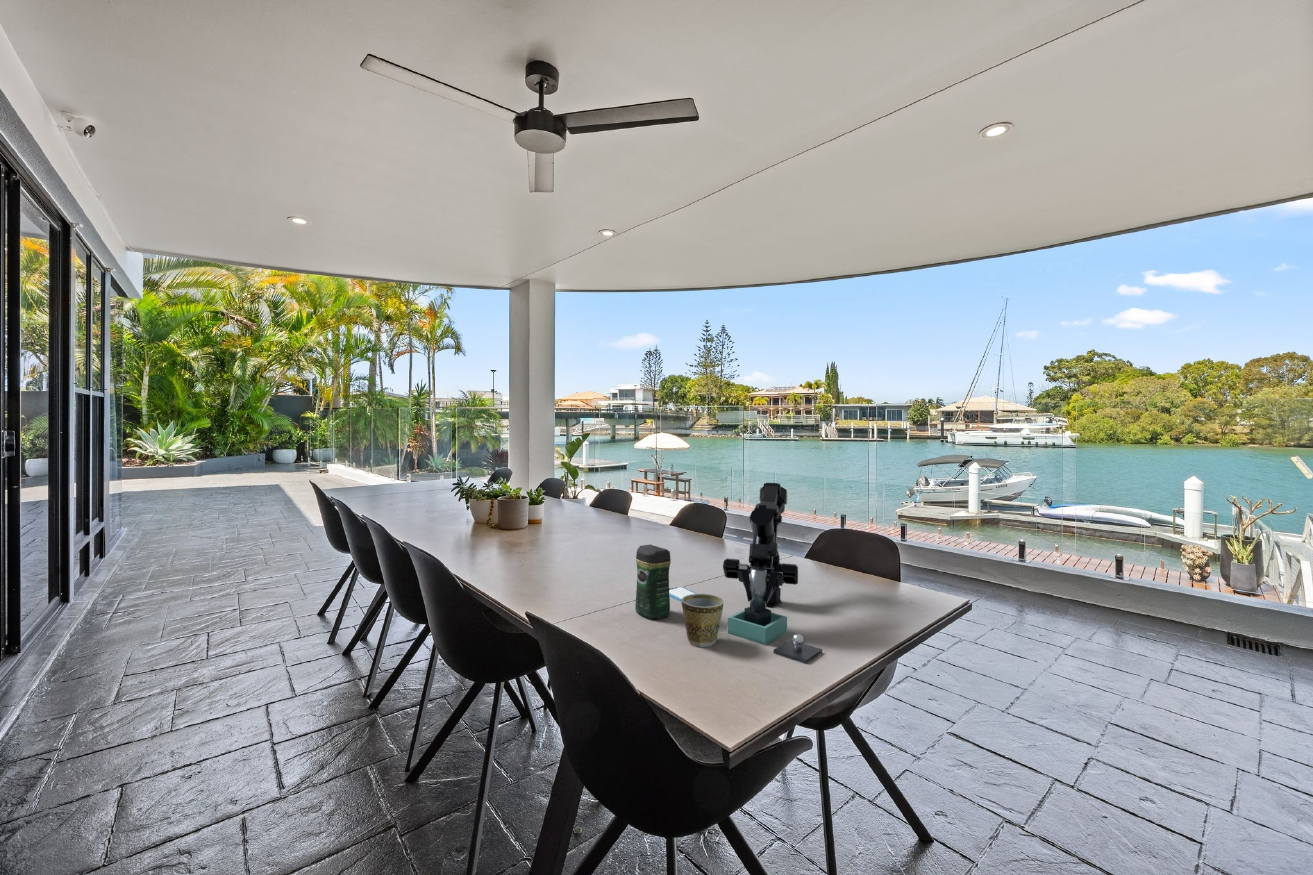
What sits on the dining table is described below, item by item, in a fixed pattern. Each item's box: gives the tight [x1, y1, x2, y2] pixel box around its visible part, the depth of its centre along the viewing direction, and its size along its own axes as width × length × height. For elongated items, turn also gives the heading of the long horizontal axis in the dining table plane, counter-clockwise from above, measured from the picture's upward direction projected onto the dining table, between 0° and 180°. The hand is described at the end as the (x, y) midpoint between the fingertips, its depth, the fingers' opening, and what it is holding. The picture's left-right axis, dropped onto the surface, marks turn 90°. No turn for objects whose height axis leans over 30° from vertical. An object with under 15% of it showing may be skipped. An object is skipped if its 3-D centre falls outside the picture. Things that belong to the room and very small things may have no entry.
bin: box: [727, 609, 788, 646], centre depth 135 cm, size 11×11×4 cm
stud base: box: [773, 633, 823, 665], centre depth 123 cm, size 8×8×4 cm
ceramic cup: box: [681, 593, 724, 648], centre depth 130 cm, size 13×10×10 cm
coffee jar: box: [634, 544, 672, 619], centre depth 147 cm, size 10×8×19 cm
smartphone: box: [669, 586, 698, 603], centre depth 162 cm, size 8×1×15 cm
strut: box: [744, 567, 772, 626], centre depth 135 cm, size 5×5×14 cm
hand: (757, 601), depth 134 cm, fingers closed on strut, 4 cm apart
